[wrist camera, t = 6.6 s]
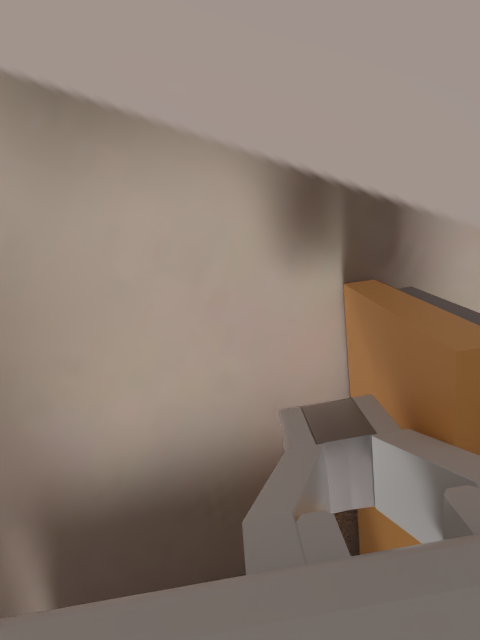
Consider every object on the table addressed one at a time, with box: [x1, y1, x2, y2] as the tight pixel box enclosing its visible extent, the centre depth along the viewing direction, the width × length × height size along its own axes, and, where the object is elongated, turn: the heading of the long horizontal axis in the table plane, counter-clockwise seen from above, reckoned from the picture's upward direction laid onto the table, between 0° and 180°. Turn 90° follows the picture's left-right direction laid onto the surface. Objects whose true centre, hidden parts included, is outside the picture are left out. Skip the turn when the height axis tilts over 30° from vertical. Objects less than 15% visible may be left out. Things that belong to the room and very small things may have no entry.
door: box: [343, 279, 480, 555], centre depth 11 cm, size 13×2×6 cm, turn 8°
